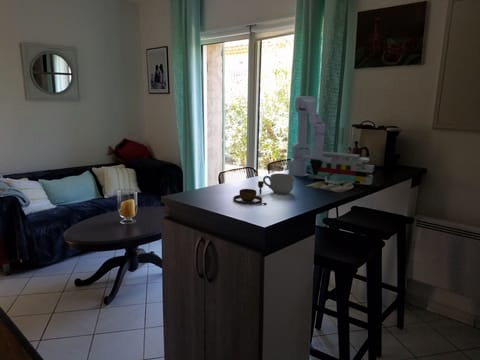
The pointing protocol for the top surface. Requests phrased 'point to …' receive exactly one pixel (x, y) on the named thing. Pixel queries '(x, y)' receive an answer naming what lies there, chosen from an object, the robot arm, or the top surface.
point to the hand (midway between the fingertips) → (315, 174)
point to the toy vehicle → (346, 168)
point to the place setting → (249, 195)
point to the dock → (332, 186)
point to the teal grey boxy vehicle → (333, 179)
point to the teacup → (280, 183)
